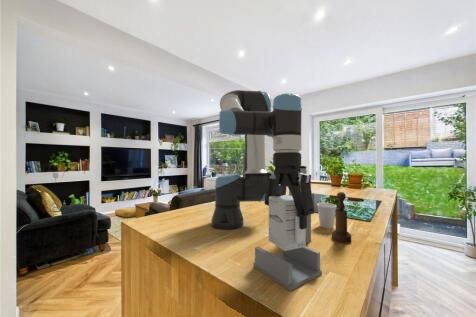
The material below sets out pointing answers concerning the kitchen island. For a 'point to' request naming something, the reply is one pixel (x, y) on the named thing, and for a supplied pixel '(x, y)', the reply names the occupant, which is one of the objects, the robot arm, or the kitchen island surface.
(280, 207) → the supplement box
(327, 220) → the dixie cup
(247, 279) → the kitchen island surface
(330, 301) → the kitchen island surface
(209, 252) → the kitchen island surface
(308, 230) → the thermos bottle
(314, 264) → the holder
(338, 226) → the brown wooden turned piece
